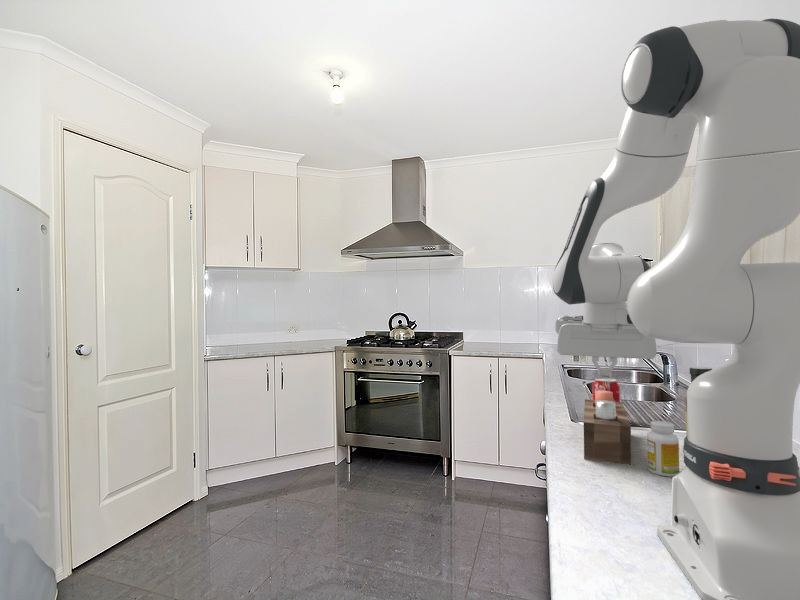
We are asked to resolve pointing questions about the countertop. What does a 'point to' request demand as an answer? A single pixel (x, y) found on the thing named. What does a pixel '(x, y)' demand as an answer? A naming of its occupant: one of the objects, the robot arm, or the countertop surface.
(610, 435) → the plug block
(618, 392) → the soda can
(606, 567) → the countertop surface
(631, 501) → the countertop surface
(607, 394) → the pink oval piece
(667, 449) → the supplement bottle
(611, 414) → the steel plug
